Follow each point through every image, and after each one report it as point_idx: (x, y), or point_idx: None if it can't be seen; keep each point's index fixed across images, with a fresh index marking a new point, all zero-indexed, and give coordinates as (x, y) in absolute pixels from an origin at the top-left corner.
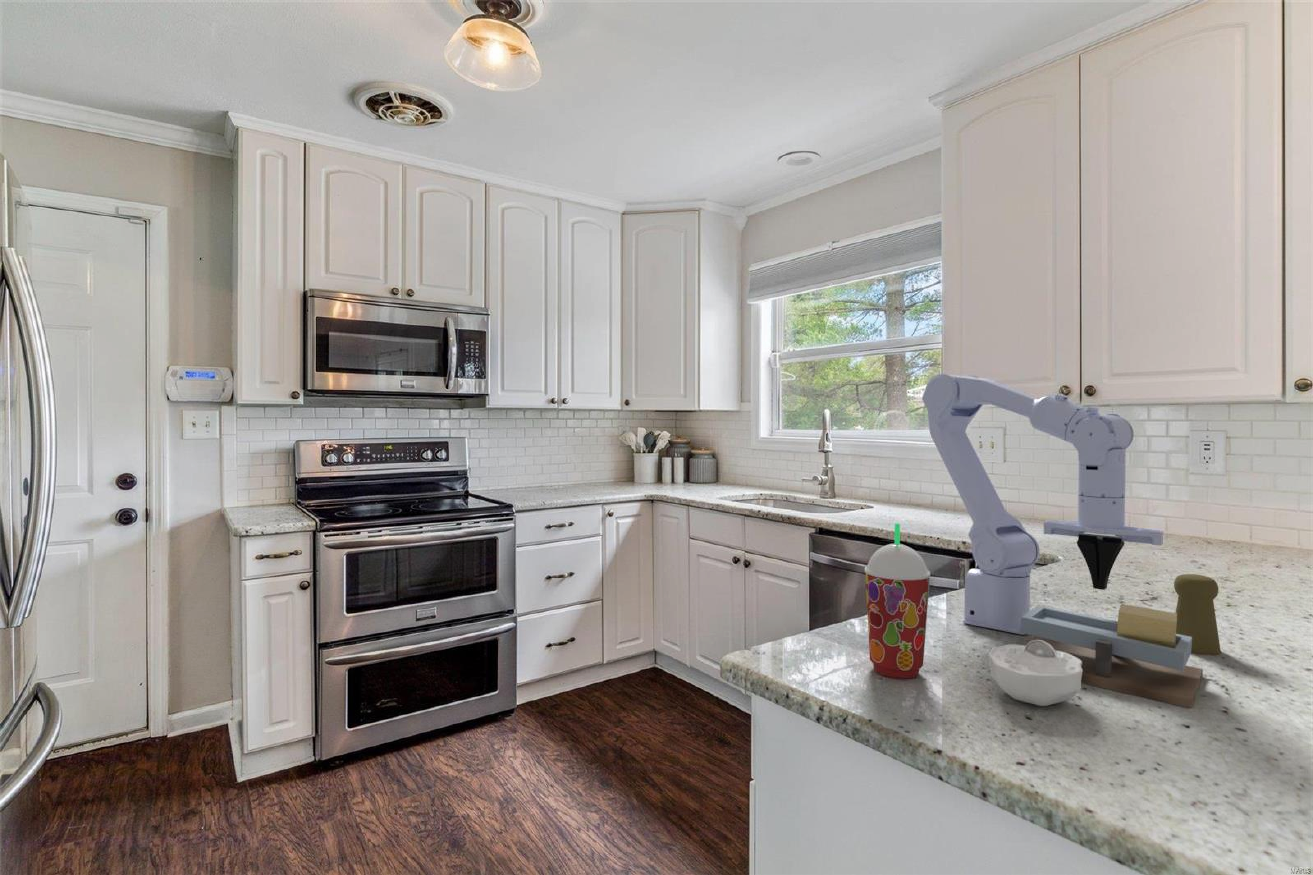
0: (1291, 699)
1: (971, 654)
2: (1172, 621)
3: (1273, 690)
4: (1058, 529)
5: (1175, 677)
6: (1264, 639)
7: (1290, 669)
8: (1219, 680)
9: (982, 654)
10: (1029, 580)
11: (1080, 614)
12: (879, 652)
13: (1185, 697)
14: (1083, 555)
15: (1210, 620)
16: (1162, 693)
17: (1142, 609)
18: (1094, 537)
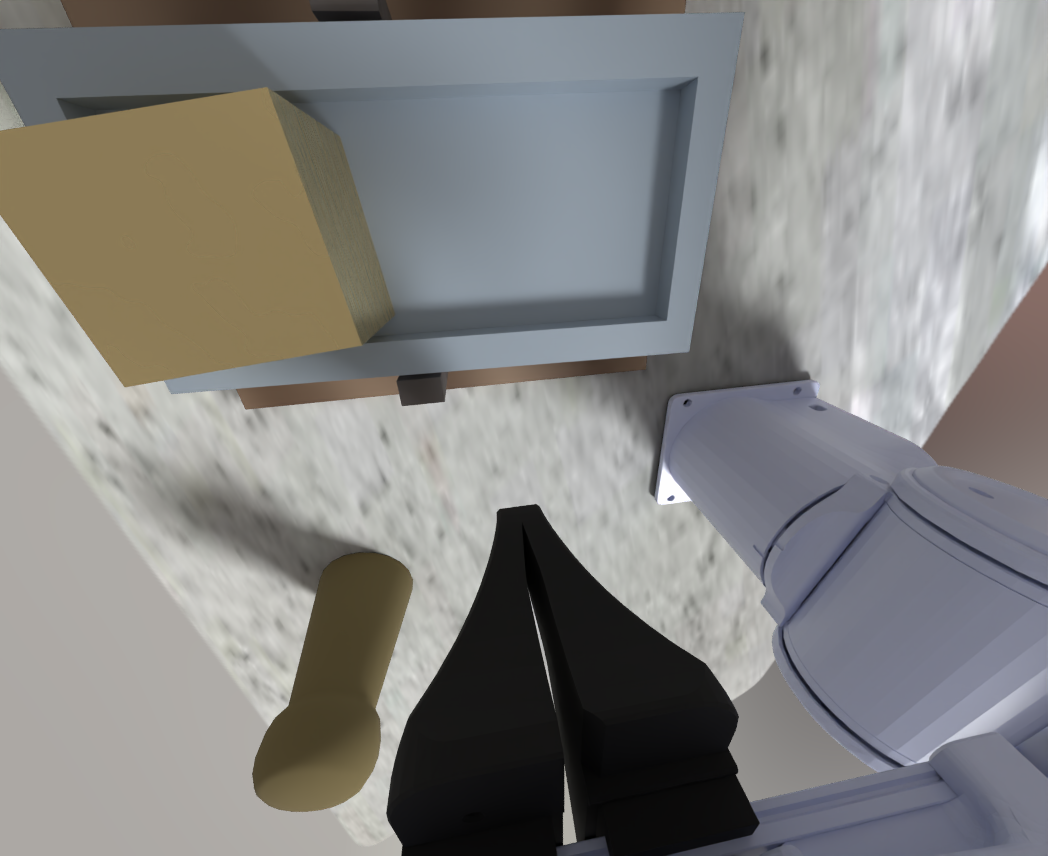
0: (40, 381)
1: (785, 56)
2: None
3: (109, 421)
4: (936, 838)
5: None
6: None
7: (190, 588)
8: (218, 402)
9: (752, 93)
10: (752, 545)
11: (540, 352)
12: None
13: (81, 1)
14: (633, 613)
15: (305, 645)
16: None
17: (243, 313)
18: (625, 839)
